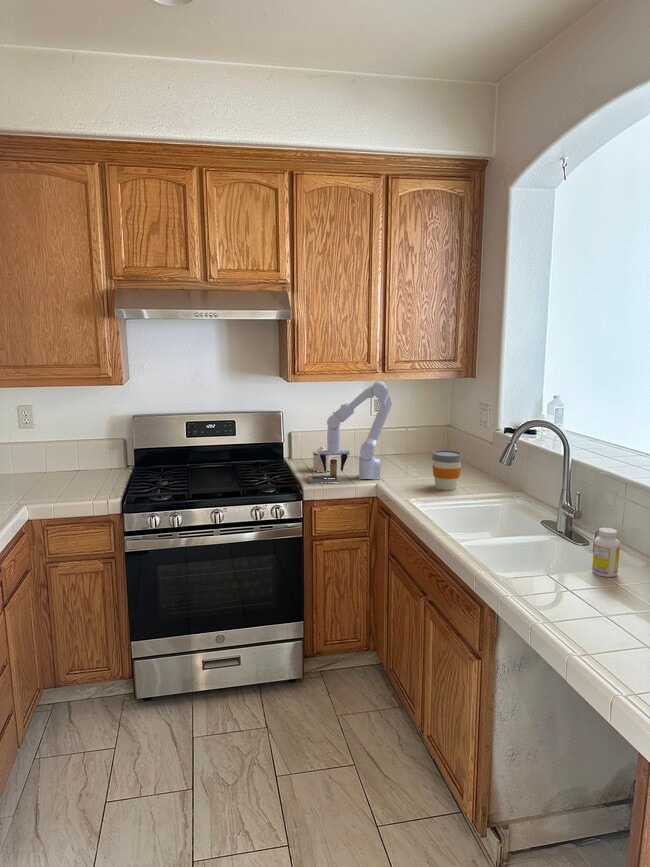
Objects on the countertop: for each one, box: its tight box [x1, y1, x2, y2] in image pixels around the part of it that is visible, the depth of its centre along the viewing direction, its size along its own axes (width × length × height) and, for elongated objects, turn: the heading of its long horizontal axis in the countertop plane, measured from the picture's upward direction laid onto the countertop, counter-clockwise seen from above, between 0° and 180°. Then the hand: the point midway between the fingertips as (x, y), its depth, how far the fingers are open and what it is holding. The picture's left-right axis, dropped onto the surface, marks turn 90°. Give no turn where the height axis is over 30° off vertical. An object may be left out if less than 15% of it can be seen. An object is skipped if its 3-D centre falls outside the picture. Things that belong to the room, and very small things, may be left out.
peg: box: [329, 458, 338, 475], centre depth 279 cm, size 3×3×8 cm
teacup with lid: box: [312, 445, 332, 473], centre depth 292 cm, size 12×9×12 cm
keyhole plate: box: [307, 474, 340, 484], centre depth 272 cm, size 13×8×2 cm, turn 97°
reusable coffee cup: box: [431, 449, 463, 491], centre depth 262 cm, size 13×12×15 cm
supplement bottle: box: [591, 527, 621, 578], centre depth 173 cm, size 7×7×13 cm
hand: (333, 470), depth 279 cm, fingers open, 7 cm apart
